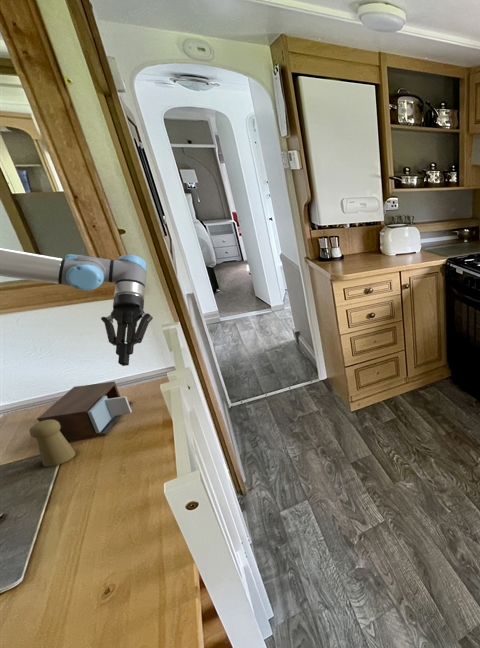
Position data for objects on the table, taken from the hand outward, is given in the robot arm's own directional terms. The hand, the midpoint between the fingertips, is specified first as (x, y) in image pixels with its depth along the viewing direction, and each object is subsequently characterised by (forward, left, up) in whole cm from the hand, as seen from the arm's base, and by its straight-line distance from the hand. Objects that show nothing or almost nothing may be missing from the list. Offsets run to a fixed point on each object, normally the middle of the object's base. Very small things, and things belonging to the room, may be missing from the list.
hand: (123, 364), depth 117 cm
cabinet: (+3, -11, -14) cm, 18 cm away
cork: (+17, -20, -15) cm, 30 cm away
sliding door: (+10, -7, -13) cm, 18 cm away
